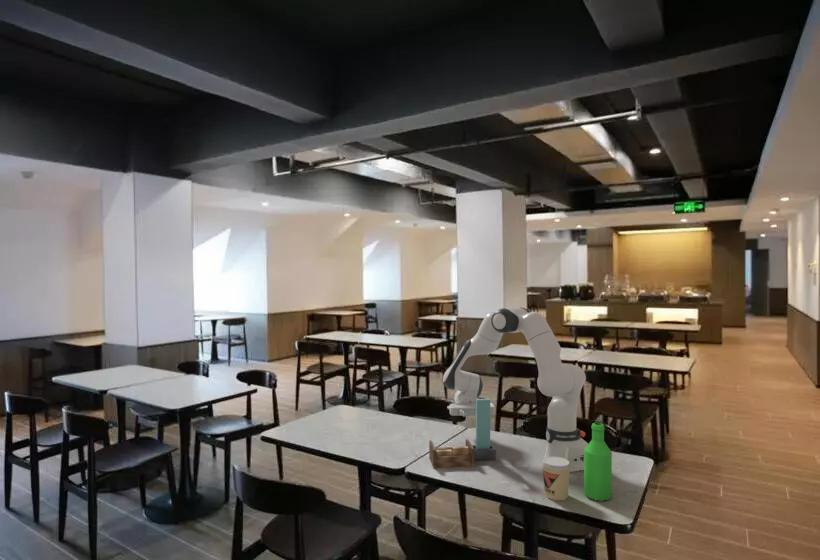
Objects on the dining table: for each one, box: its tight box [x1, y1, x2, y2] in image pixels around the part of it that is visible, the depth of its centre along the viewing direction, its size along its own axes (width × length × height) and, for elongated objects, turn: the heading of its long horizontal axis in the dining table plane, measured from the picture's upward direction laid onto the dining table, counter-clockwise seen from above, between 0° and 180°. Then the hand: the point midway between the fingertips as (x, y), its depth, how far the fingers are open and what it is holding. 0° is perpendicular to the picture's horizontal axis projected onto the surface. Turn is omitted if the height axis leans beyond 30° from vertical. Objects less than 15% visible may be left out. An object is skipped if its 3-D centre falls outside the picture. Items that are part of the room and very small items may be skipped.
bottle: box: [583, 422, 613, 501], centre depth 168 cm, size 9×9×25 cm
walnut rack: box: [428, 438, 475, 470], centre depth 195 cm, size 16×11×8 cm
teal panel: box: [475, 398, 491, 449], centre depth 199 cm, size 6×2×24 cm, turn 96°
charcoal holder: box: [471, 444, 497, 463], centre depth 199 cm, size 10×6×6 cm, turn 96°
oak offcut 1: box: [436, 449, 452, 456], centre depth 193 cm, size 6×2×6 cm, turn 96°
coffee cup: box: [541, 456, 571, 501], centre depth 169 cm, size 9×9×12 cm
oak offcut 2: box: [452, 445, 468, 455], centre depth 193 cm, size 6×2×6 cm, turn 96°
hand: (476, 414), depth 210 cm, fingers open, 8 cm apart
